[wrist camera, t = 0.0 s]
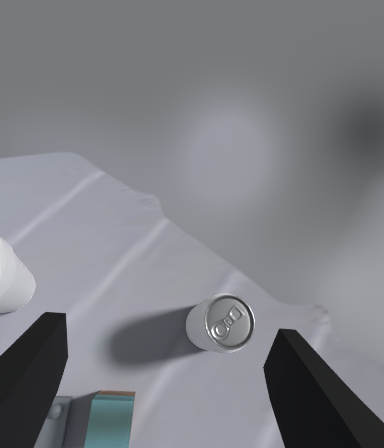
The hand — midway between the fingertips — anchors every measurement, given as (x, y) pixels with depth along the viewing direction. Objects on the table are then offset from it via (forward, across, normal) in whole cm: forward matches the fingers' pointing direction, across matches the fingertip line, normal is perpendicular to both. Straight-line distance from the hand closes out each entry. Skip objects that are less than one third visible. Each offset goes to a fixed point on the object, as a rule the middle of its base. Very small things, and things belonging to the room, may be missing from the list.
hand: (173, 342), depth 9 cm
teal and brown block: (+15, +4, +30) cm, 34 cm away
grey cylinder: (+23, -8, +23) cm, 33 cm away
